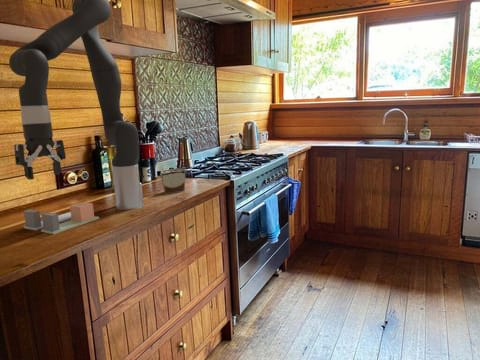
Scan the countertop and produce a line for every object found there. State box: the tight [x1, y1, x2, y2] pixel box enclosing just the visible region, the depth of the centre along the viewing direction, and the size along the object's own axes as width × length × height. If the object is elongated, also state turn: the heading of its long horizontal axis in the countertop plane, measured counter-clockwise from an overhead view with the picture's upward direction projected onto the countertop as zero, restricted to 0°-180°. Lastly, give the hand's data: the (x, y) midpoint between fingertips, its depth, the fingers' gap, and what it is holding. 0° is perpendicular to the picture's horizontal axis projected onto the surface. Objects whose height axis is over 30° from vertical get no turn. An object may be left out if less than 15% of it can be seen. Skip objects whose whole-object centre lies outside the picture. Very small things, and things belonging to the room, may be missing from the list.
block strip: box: [40, 212, 100, 235], centre depth 119 cm, size 17×6×6 cm, turn 152°
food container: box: [159, 168, 187, 195], centre depth 168 cm, size 12×6×10 cm, turn 123°
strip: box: [23, 209, 72, 231], centre depth 123 cm, size 17×6×6 cm, turn 152°
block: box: [69, 202, 95, 222], centre depth 123 cm, size 5×5×5 cm
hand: (44, 176), depth 110 cm, fingers open, 8 cm apart
